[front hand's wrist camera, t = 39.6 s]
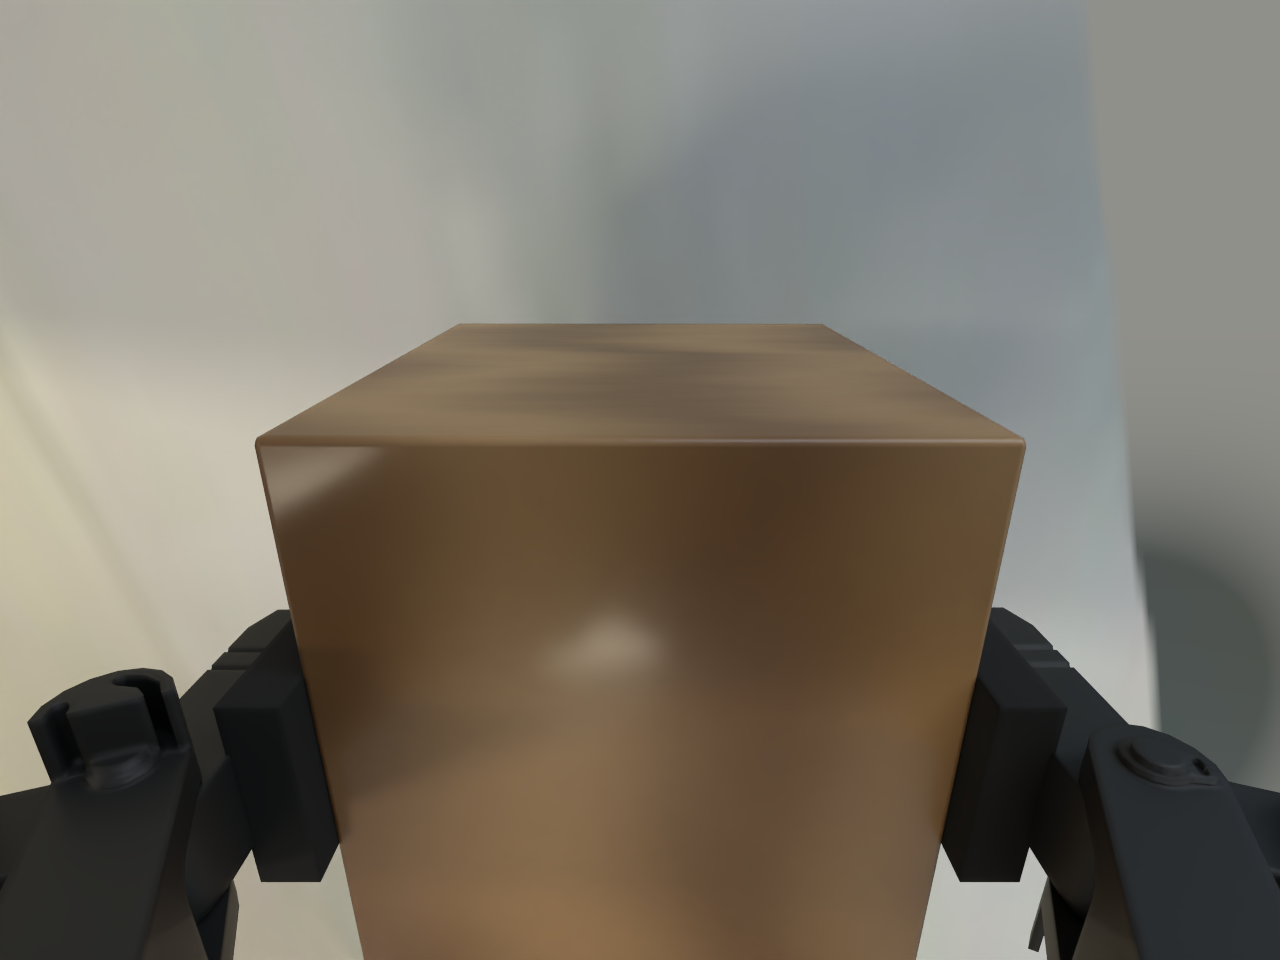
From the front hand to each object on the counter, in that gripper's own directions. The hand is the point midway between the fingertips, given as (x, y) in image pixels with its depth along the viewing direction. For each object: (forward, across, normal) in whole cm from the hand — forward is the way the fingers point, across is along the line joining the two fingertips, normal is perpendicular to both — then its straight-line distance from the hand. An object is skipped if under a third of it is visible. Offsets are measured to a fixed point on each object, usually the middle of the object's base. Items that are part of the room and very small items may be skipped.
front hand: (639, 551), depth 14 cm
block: (+2, 0, 0) cm, 2 cm away
